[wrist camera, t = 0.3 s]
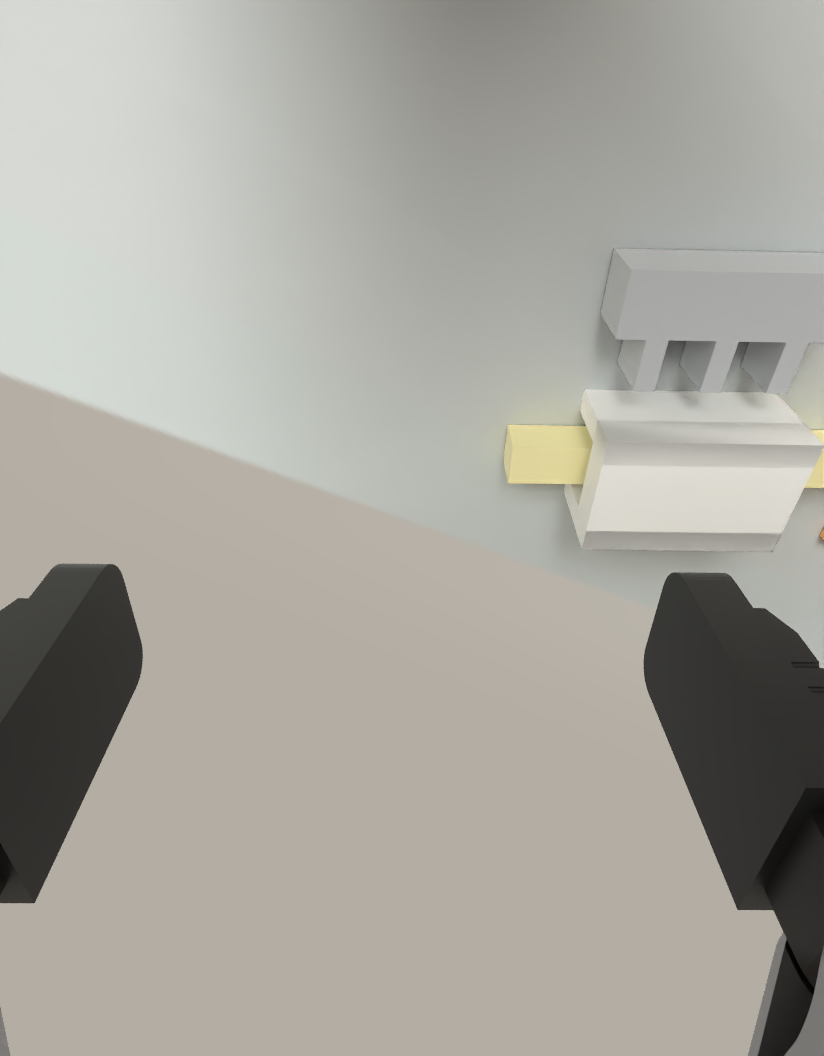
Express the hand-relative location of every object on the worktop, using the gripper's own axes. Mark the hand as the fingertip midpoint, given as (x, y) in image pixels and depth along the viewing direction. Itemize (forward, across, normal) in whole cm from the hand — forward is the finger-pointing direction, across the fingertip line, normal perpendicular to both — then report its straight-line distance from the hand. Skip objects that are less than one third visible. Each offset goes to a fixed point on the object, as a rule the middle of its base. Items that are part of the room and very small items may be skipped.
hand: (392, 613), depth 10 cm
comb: (+18, -12, -1) cm, 21 cm away
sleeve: (+18, -12, +6) cm, 23 cm away
